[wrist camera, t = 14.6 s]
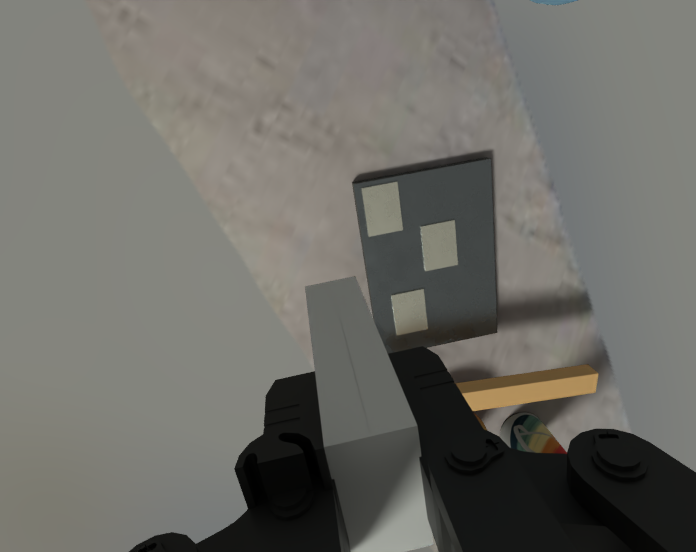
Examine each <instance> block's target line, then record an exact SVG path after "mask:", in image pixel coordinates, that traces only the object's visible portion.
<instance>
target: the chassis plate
mask: <svg viewBox="0 0 696 552" xmlns="http://www.w3.org/2000/svg"><path fill="white" fill-rule="evenodd" d="M352 185H353V192H354V198H355V205H356V211H357V217H358V224H359V230H360V237H361V243H362V249H363V256H364V262H365V269H366V275H367V282H368V288H369V294H370V301H371V307H372V314H373V320H374V322H375V325H376V327H377V330H378V332H379V334H380V337H381V339H382V342H383V344H384V346H385V349H386V351H387V354H389V353H394V352H398V351H403V350H407V349H412V348H417V347H421V346H424V347H425V348H427V347H432V346H437V345H441V344H446V343H451V342H455V341H460V340H465V339H469V338H474V337H479V336H483V335H488V334H493V333H497V309H496V282H495V255H494V228H493V202H492V175H491V159H490V158H482V159H476V160H471V161H466V162H460V163H455V164H449V165H444V166H439V167H433V168H428V169H423V170H417V171H412V172H407V173H401V174H396V175H391V176H385V177H380V178H374V179H369V180H364V181H358V182H353V183H352Z"/></svg>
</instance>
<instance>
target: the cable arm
mask: <svg viewBox="0 0 696 552" xmlns="http://www.w3.org/2000/svg"><path fill="white" fill-rule="evenodd" d="M597 380H598V373H597V372H596V371H595V370H594V369H593V368H591V367H590V366H589V365H588V364H586V365H579V366H572V367H565V368H558V369H551V370H544V371H537V372H531V373H524V374H517V375H510V376H503V377H496V378H489V379H482V380H475V381H468V382H461V383H455V384H456V385H457V387H458V388H459V390H460V391H461V393H462V395H463V396H464V398H465V400H466V401H467V403H468V404H469V406H470V408H471V409H472V411H478V410H484V409H491V408H497V407H504V406H511V405H517V404H524V403H530V402H537V401H544V400H550V399H557V398H563V397H570V396H577V395H583V394H590V393H595V392H596V386H597Z"/></svg>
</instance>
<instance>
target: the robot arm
mask: <svg viewBox="0 0 696 552" xmlns="http://www.w3.org/2000/svg"><path fill="white" fill-rule="evenodd" d="M531 1H533V2H535V3H543V4H547V5H549V4H550V5H561V4H566V3H570V2H574V1H577V0H531ZM305 290H306V299H307V307H308V316H309V324H310V333H311V341H312V350H313V358H314V367H315V371H314V372H310V373H306V374H301V375H296V376H292V377H288V378H283V379H278V380H275V382H274V383H273V385H272V387H271V388H270V390H269V391H268V393H267V395H266V402H265V418H264V427H265V428H264V434H263V435H262V436H260V437H258V438H257V439H255V440H254V441H252V442H251V443H250V444H249V445H248V446H247V447H246V448H245V450H244V451H243V452H242V453H241V454H240V455H239V458H238V460H237V463H236V466H235V472H236V475H237V478H238V481H239V484H240V486H241V489H242V492H243V495H244V498H245V501H246V503H247V507H248V510H247V511H246V512H245V513H244V514H243V515H242V516H241V517H240V518H239V519H237V520H236V521H235V522H234V523H232V524H231V525H229V526H228V527H226V528H224V529H223V530H221V531H219V532H217V533H215V534H214V535H212V536H210V537H208V538H206V539H205V540H202V541H201V542H199V543H197V544H195V543H194V542H193V541H192V540H191V539H190V538H189V537H188V536H187V535H183V534H178V533H172V532H171V533H166V534H162V535H157V536H154V537H152V538H150V539H148V540H146V541H144V542H142V543H140V544H138V545H136V546H135V547H134V548H133V549H132V550H130V551H129V552H406V551H410V550H414V549H418V548H422V547H426V546H430V545H433V537H432V533H433V536H434V539H435V542H436V545H437V547H438V550H439V552H696V472H694V471H693V470H691V469H690V468H688V467H686V466H685V465H683V464H682V463H680V462H679V461H677V460H676V459H674V458H673V457H671V456H670V455H668V454H667V453H665V452H664V451H662V450H661V449H659V448H657V447H656V446H655V445H653V444H651V443H650V442H648V441H646V440H644V439H642V438H640V437H638V436H636V435H634V434H631V433H627V432H623V431H619V430H615V429H593V430H589V431H586V432H582V433H580V434H579V435H577V436H576V437H575V438H574V439H573V440H571V442H570V445H569V448H568V452H567V454H563V453H534V452H526V451H520V450H517V449H513V448H510V447H509V446H508V445H507V444H506V443H505V442H504V441H503V440H502V439H501V438H500V437H499V436H497V435H495V434H493V433H491V432H489V431H487V430H484V429H483V427H482V426H481V424H480V422H479V421H478V419H477V417H476V416H475V414H474V413H473V411H472V409H471V408H470V406H469V404H468V403H467V401H466V400H465V398H464V396H463V395H462V393H461V391H460V390H459V388H458V387H457V385H456V384H455V383H454V380H453V378H452V377H451V375H450V374H449V372H447V369H446V367H445V366H444V364H443V362H442V361H441V359H440V357H439V356H438V355H436V354H435V353H433V352H432V351H430V350H428V349H427V348H425V347H424V346H421V347H417V348H412V349H407V350H403V351H398V352H394V353H389V354H387V351H386V349H385V346H384V344H383V342H382V339H381V337H380V334H379V332H378V330H377V327H376V325H375V322H374V320H373V318H372V315H371V313H370V310H369V308H368V306H367V303H366V301H365V298H364V296H363V294H362V291H361V289H360V286H359V284H358V282H357V279H356V277H355V276H354V277H349V278H344V279H340V280H335V281H330V282H325V283H320V284H315V285H311V286H306V287H305Z"/></svg>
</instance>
